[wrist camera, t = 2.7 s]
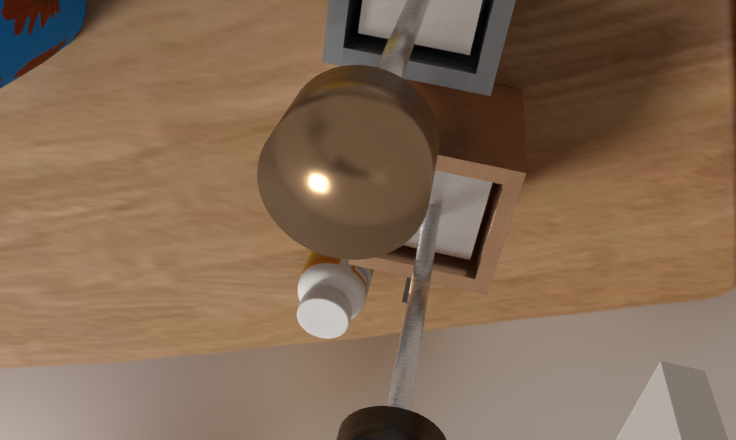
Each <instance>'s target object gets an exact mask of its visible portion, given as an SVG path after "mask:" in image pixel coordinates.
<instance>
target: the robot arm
mask: <svg viewBox="0 0 736 440" xmlns="http://www.w3.org/2000/svg"><path fill="white" fill-rule="evenodd" d="M616 440H728V438H727V435H726V432H725V429H724V426H723V423H722V421H721V417H720V415H719V412H718V409H717V406H716V403H715V400H714V397H713V394H712V391H711V388H710V385H709V382H708V379H707V376H706V373H705V371H702V370H698V369H693V368H689V367H685V366H680V365H676V364H672V363H667V362H663V361H660V363H659V365H658V366H657V368H656V370H655V372H654V373H653V375H652V377H651V379H650V380H649V382H648V384H647V386H646V388H645V389H644V391H643V393H642V394H641V396H640V398H639V400H638V401H637V403H636V405H635V407H634V409H633V410H632V412H631V414H630V416H629V417H628V419H627V421H626V423H625V424H624V426H623V428H622V430H621V431H620V433H619V435H618V437H617V438H616Z"/></svg>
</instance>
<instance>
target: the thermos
mask: <svg viewBox="0 0 736 440" xmlns="http://www.w3.org/2000/svg"><path fill="white" fill-rule="evenodd" d="M86 6H87V5H86V0H0V88H2V87H4V86H5V85H7V84H9V83H10V82H12V81H14V80H15V79H17V78H19V77H20V76H22V75H24V74H25V73H27V72H28V71H30V70H32V69H33V68H35V67H37V66H38V65H40V64H42V63H43V62H45V61H46V60H47V59H49V58H50V57H52V56H53V55H54V54H56V53H57V52H58V51H60V50H61V49H62V48H64V47H65V46H67V45H68V44H69V43H70V42H71V41H72V40H73V38H74V37H75V36H76V35H77V33H78V32H79V31H80V29H81V28H82V25H83V20H84V16H85V11H86Z"/></svg>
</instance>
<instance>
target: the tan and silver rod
mask: <svg viewBox="0 0 736 440" xmlns="http://www.w3.org/2000/svg"><path fill="white" fill-rule="evenodd" d="M482 1H483V0H362V7H361V14H360V22H359V30H358V33H361V34H366V35H371V36H376V37H381V38H386V39H389V40H388V42H387V44H386V46H385V49H384V51H383V53H382V55H381V57H380V59H379V62H378V64H377V66H376V67H374V66H367V65H347V66H340V67H336V68H333V69H330V70H328V71H325V72H323V73H321V74H319V75H318V76H316V77H314V78H313V79H312V80H311V81H309V82H308V83H307V84H306V85H305V86H304V87H303V88H302V89H301V91H300V92H299V93H298V95H297V96H296V98H295V99H294V101H293V102H292V104H291V105H290V107H289V108H288V110H287V111H286V113H285V114H284V116H283V117H282V119H281V120H280V122H279V123H278V125H277V126H276V128H275V129H274V131H273V132H272V134H271V135H270V137H269V138H268V140H267V141H266V143H265V145H264V147H263V149H262V151H261V154H260V158H259V161H258V169H257V178H258V186H259V191H260V194H261V198H262V201H263V203H264V205H265V207H266V209H267V211H268V212H269V214H270V216H271V217H272V219H273V220H274V221H275V222H276V224H277V225H278V226H279V227H280V228H281V229H282V230H283V231H284V232H285V233H286V234H287V235H288V236H290V237H291V238H292V239H293V240H295V241H296V242H298V243H299V244H301V245H302V246H304V247H306V248H308V249H310V250H312V251H314V252H317V253H320V254H322V255H326V256H329V257H333V258H339V259H348V260H361V259H369V258H375V257H378V256H382V255H385V254H387V253H390V252H392V251H394V250H396V249H397V248H399V247H401V246H402V245H404V244H405V243H406V242H407V241H409V240H410V239H411V238H412V237H413V236H414V234H415V233H416V232H417V231H418V229H419V228H420V226H421V225H422V223H423V221H424V219H425V217H426V214H427V210H428V207H429V202H430V196H431V191H432V185H433V180H434V174H435V169H436V163H437V158H438V152H439V130H438V125H437V122H436V118H435V116H434V114H433V111H432V109H431V107H430V106H429V104H428V103H427V101H426V100H425V98H424V97H423V96H422V95H421V93H420V92H419V91H418V90H417V89H416V88H415V87H414V86H413V85H411V84H410V83H409V82H407V81H406V80H405V79H403V75H404V72H405V69H406V66H407V64H408V61H409V58H410V55H411V52H412V49H413V46H414V44H416V45H421V46H426V47H432V48H437V49H442V50H447V51H452V52H457V53H462V54H467V55H470V51H471V47H472V43H473V39H474V35H475V30H476V26H477V22H478V18H479V13H480V9H481V5H482Z"/></svg>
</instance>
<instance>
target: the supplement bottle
mask: <svg viewBox="0 0 736 440" xmlns="http://www.w3.org/2000/svg"><path fill="white" fill-rule="evenodd" d="M348 262H349V260H348V259H339V258H333V257H329V256H326V255H322V254H320V253H317V252H314V251H311V253H310V255H309V258H308V260H307V263H306V265H305V267H304V270H303V272H302V275H301V277H300V280H299V283H298V297H299V300H300V304H299V307H298V310H297V319H298V321H299V323H300V325H301V326H302V328H303V329H305V330H306V331H307V332H308V333H310V334H312V335H314V336H317V337H320V338H335V337H338V336H340V335H342V334H343V333H344V332H345V331H346V330H347V329H348V326H349V323H350V320H351V319H352V318H354V317H355V316H356V315H358V314H359V313H360V311H361V310H362V308H363V306H364V303H365V300H366V297H367V293H368V289H369V285H370V282H371V278H372V274H373V271H374V270H373V269H368V268H364V267H359V266H355V265H350V264H348Z"/></svg>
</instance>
